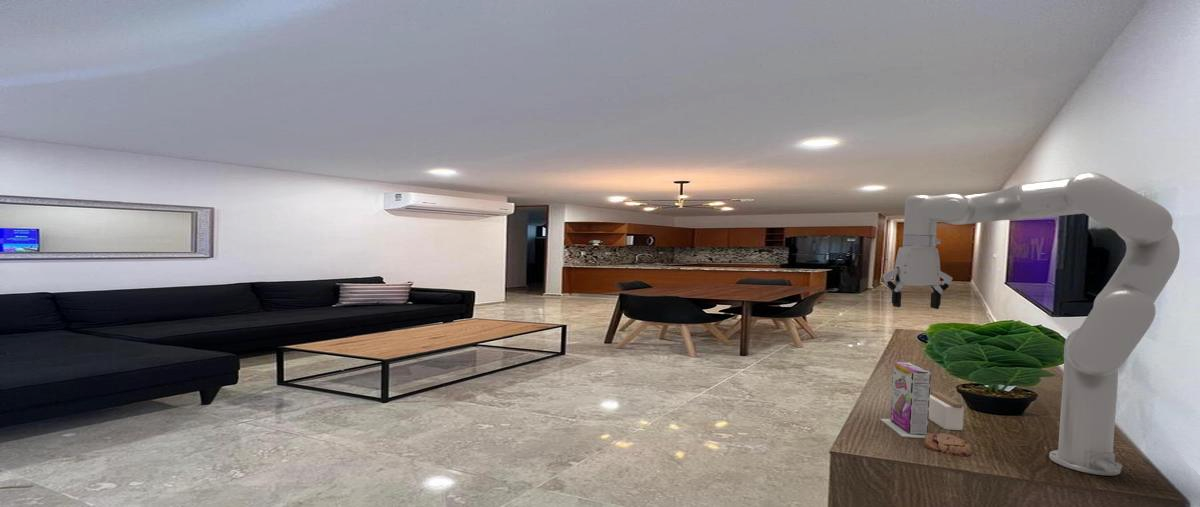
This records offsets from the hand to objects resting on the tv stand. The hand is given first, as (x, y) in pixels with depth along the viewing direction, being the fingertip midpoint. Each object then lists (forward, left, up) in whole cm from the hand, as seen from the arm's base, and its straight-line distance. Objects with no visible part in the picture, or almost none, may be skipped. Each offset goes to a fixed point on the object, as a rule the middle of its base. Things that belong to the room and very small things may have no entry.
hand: (915, 307), depth 155 cm
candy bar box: (0, 0, -32) cm, 32 cm away
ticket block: (+8, -12, -32) cm, 35 cm away
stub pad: (0, +1, -32) cm, 32 cm away
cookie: (-13, -3, -33) cm, 36 cm away
